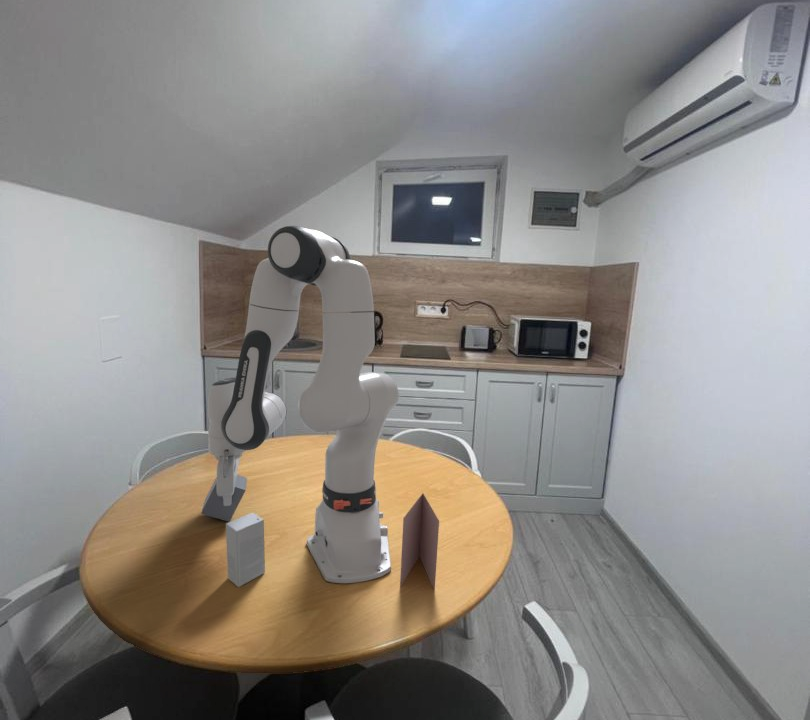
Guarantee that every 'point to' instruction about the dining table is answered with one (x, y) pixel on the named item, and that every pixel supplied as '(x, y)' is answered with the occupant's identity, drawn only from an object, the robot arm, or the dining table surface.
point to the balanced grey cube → (215, 503)
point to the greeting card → (420, 539)
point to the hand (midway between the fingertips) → (229, 495)
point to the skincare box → (245, 548)
